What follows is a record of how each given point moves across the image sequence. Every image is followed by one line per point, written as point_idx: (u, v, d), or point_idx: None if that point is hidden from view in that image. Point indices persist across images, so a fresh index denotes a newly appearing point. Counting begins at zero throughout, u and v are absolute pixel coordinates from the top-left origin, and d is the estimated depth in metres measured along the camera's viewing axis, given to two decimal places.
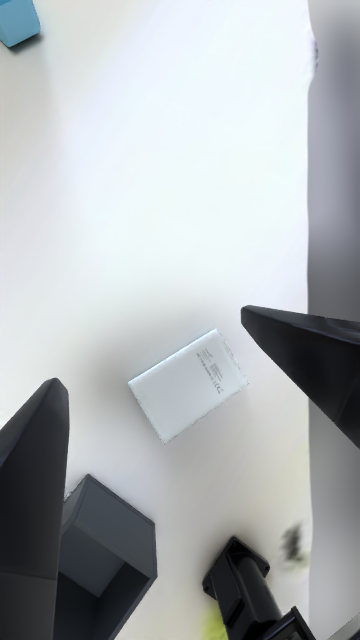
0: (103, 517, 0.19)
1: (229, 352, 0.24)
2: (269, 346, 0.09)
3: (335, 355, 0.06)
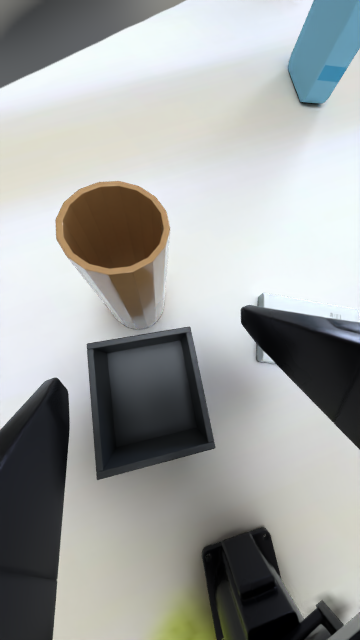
0: None
1: None
2: (269, 346, 0.09)
3: (335, 355, 0.06)
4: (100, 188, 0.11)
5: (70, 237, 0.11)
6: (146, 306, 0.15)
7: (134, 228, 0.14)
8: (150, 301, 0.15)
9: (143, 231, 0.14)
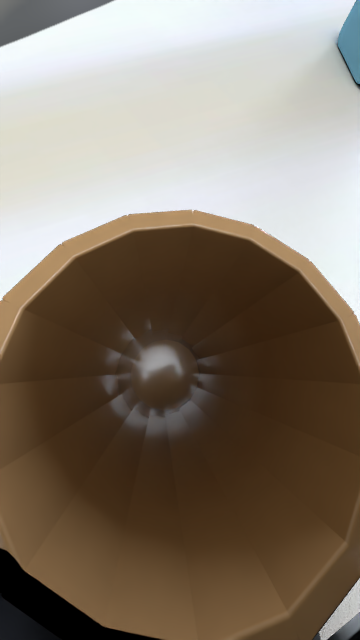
0: None
1: None
2: None
3: None
4: (135, 234, 0.03)
5: (36, 400, 0.03)
6: None
7: (191, 299, 0.06)
8: None
9: (209, 305, 0.06)
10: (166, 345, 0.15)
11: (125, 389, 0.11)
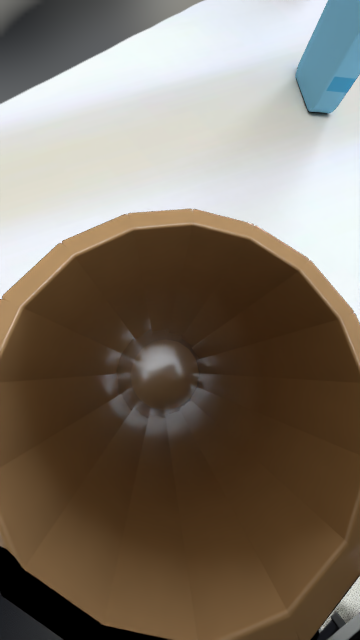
0: None
1: None
2: None
3: None
4: (134, 232, 0.03)
5: (35, 400, 0.03)
6: None
7: (191, 298, 0.06)
8: None
9: (209, 304, 0.06)
10: (166, 345, 0.15)
11: (125, 389, 0.11)
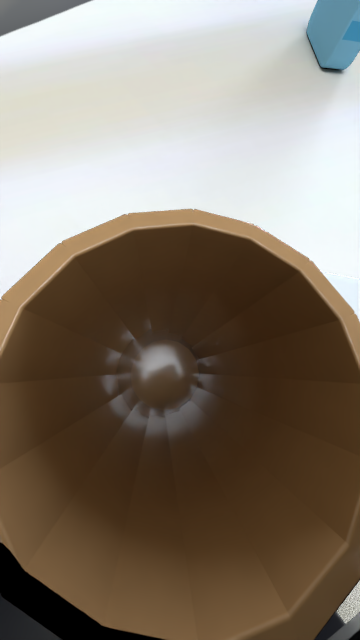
0: None
1: None
2: None
3: None
4: (134, 233, 0.03)
5: (34, 400, 0.03)
6: None
7: (191, 298, 0.06)
8: None
9: (209, 305, 0.06)
10: (166, 345, 0.15)
11: (125, 389, 0.11)
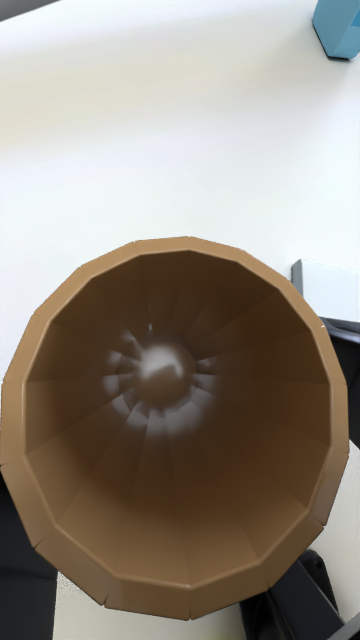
0: None
1: None
2: None
3: None
4: (140, 257, 0.04)
5: (56, 396, 0.04)
6: None
7: (189, 306, 0.07)
8: None
9: (206, 311, 0.07)
10: (166, 346, 0.16)
11: (127, 388, 0.12)
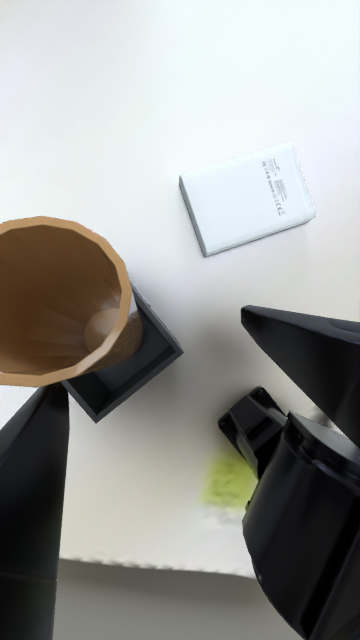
0: (134, 289, 0.17)
1: (300, 171, 0.20)
2: (269, 346, 0.09)
3: (335, 355, 0.06)
4: None
5: None
6: (131, 348, 0.12)
7: (65, 267, 0.10)
8: (134, 342, 0.12)
9: (79, 265, 0.10)
10: (103, 314, 0.19)
11: (80, 354, 0.15)
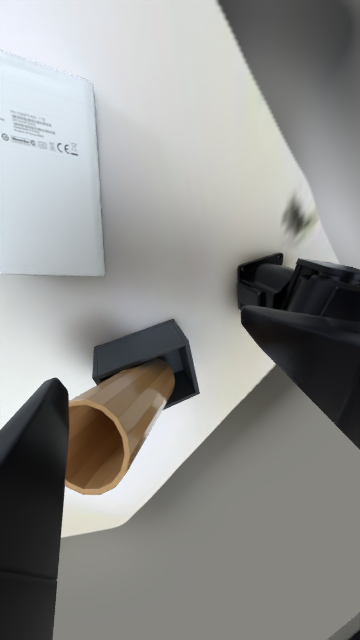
0: (122, 354, 0.20)
1: None
2: (269, 346, 0.09)
3: (335, 355, 0.06)
4: None
5: (97, 476, 0.13)
6: (154, 392, 0.17)
7: (83, 409, 0.15)
8: (150, 390, 0.16)
9: None
10: None
11: None
